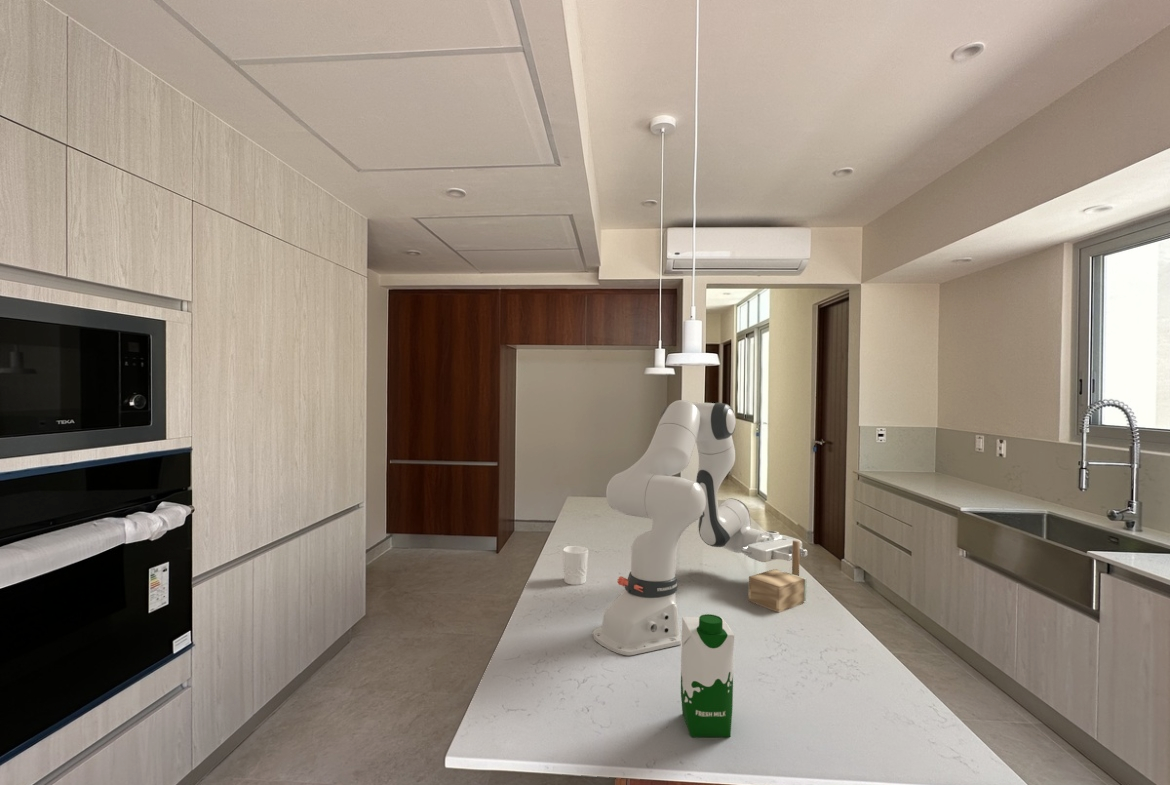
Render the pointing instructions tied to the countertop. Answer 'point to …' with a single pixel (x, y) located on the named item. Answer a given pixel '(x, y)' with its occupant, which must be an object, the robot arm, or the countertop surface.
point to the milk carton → (707, 675)
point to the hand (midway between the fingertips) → (798, 555)
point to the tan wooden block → (776, 590)
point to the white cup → (575, 564)
